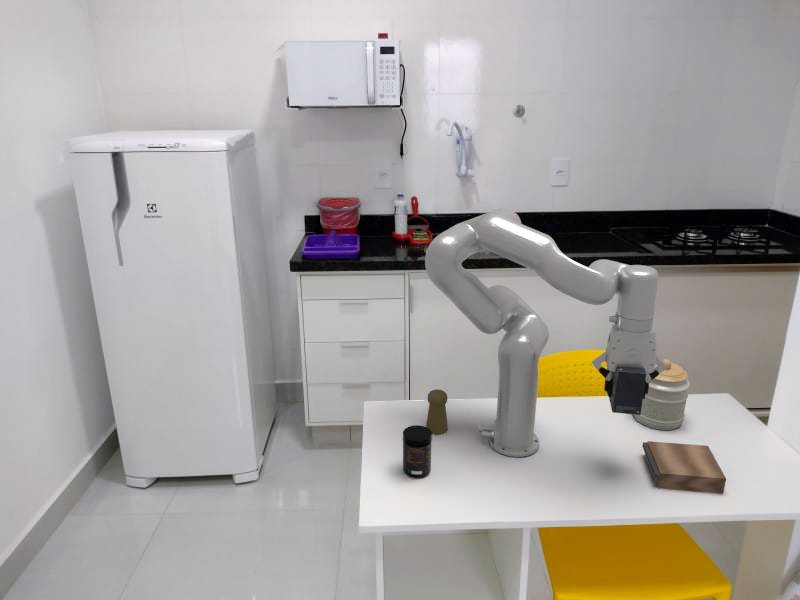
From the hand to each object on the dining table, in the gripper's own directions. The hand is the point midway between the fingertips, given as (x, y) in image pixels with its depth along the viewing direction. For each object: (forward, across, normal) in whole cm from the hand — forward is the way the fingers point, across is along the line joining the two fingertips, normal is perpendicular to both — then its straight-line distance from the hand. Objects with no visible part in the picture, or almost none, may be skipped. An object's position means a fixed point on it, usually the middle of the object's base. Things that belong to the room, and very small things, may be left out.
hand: (625, 394), depth 142 cm
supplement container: (+19, -47, -8) cm, 51 cm away
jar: (+20, +15, +25) cm, 36 cm away
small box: (+2, 0, 0) cm, 2 cm away
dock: (+20, +15, 0) cm, 25 cm away
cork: (+19, -44, +11) cm, 49 cm away
